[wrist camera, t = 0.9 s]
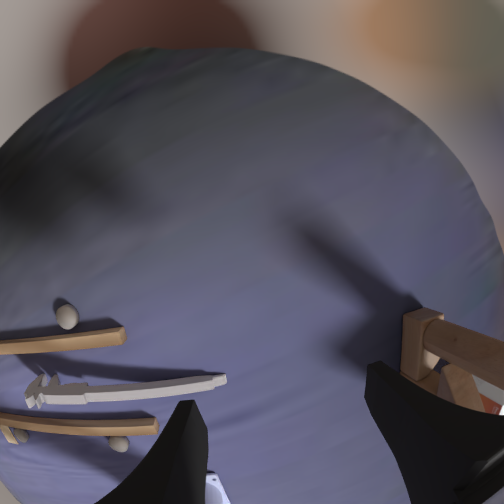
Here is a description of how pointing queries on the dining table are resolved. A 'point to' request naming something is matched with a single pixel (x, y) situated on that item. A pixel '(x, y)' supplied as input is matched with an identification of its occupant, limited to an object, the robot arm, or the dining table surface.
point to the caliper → (114, 390)
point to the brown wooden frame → (449, 358)
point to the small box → (490, 396)
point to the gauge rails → (114, 428)
